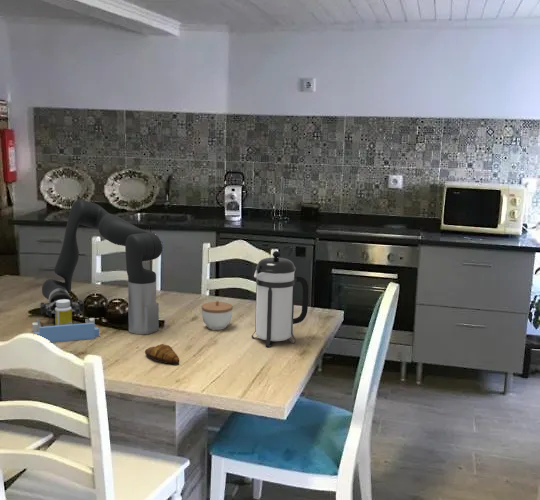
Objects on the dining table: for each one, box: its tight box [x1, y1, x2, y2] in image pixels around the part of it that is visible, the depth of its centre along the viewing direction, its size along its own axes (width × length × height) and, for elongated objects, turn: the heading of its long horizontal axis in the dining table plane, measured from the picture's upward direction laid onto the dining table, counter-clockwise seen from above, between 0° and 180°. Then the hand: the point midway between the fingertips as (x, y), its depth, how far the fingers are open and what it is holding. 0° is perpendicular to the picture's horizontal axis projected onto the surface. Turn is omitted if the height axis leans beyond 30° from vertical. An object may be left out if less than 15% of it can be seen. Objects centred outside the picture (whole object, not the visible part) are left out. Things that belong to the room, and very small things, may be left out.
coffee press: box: [251, 250, 309, 348], centre depth 213 cm, size 17×16×30 cm
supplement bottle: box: [54, 299, 73, 326], centre depth 220 cm, size 6×5×10 cm
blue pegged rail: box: [31, 317, 100, 343], centre depth 219 cm, size 24×20×5 cm
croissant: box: [144, 343, 180, 365], centre depth 194 cm, size 14×7×5 cm, turn 53°
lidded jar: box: [201, 300, 234, 331], centre depth 227 cm, size 11×11×9 cm
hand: (63, 312), depth 219 cm, fingers open, 8 cm apart
